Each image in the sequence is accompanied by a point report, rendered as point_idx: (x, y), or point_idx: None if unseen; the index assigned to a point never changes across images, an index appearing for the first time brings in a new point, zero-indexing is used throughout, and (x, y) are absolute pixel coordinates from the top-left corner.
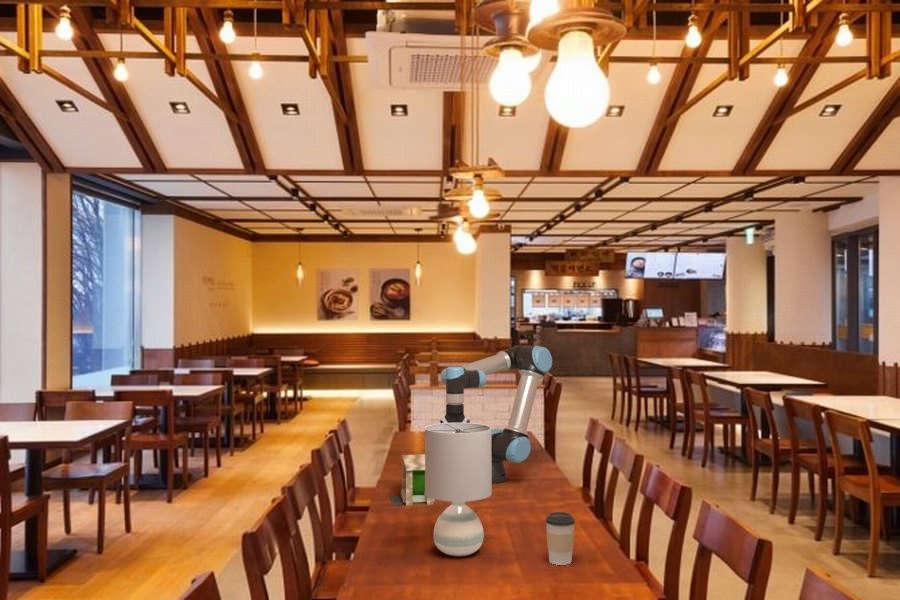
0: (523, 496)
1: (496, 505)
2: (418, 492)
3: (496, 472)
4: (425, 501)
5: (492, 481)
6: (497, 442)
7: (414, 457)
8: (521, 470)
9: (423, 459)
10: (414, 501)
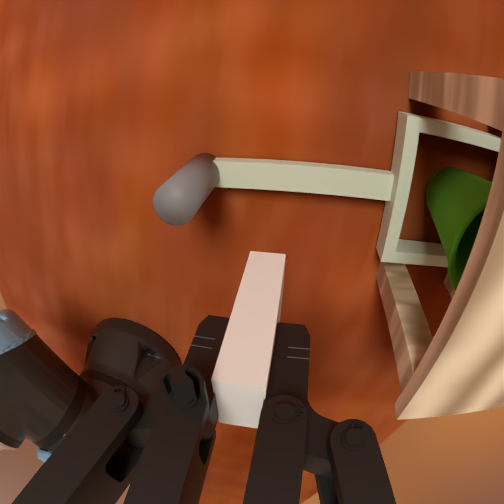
0: (36, 150)
1: (125, 21)
2: (467, 172)
3: (104, 344)
4: (437, 119)
5: (126, 323)
6: (41, 411)
7: (500, 367)
8: None
9: (498, 316)
10: (478, 130)
